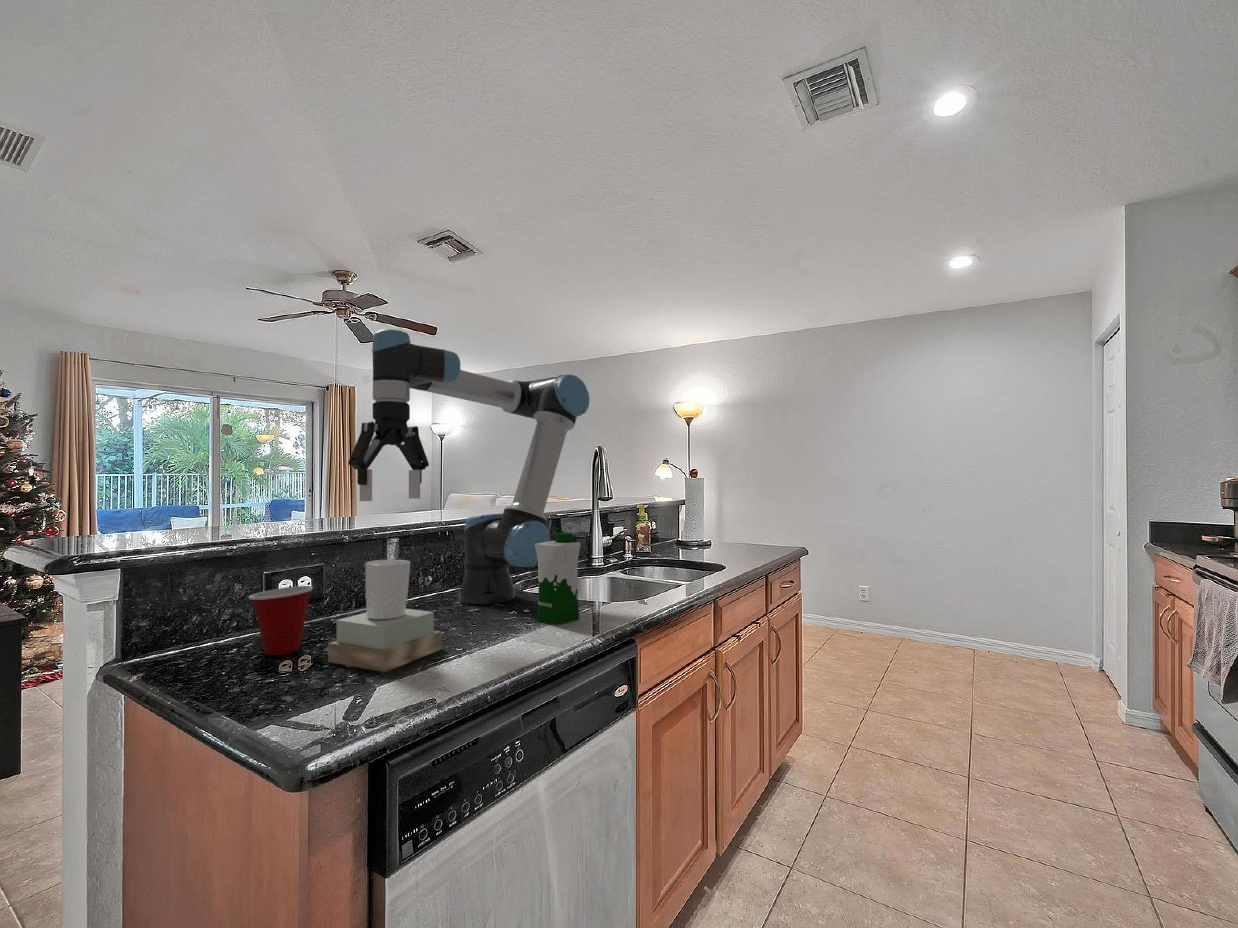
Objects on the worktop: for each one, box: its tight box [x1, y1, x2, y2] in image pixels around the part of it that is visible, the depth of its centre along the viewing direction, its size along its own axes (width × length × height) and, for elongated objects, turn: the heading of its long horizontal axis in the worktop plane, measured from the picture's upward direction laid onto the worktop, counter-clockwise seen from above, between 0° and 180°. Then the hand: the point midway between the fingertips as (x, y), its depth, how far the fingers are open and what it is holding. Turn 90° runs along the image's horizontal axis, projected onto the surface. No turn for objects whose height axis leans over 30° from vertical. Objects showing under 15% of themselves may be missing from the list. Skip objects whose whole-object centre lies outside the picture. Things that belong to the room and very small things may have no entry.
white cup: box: [365, 559, 411, 619], centre depth 107 cm, size 8×8×10 cm
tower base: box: [327, 630, 442, 673], centre depth 107 cm, size 14×14×4 cm
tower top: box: [336, 608, 435, 650], centre depth 107 cm, size 12×12×4 cm
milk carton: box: [535, 532, 581, 626], centre depth 132 cm, size 9×9×20 cm
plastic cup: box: [248, 585, 313, 657], centre depth 110 cm, size 11×11×12 cm
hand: (391, 499), depth 123 cm, fingers open, 13 cm apart
